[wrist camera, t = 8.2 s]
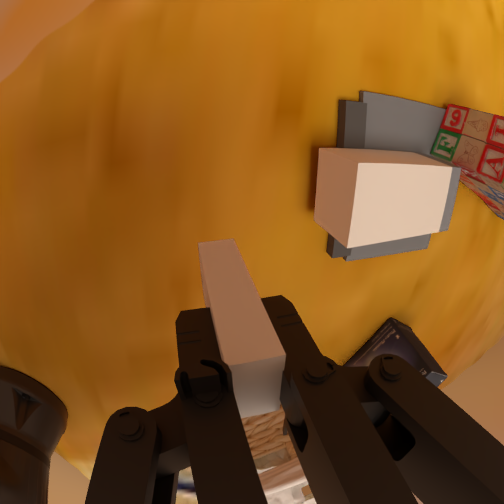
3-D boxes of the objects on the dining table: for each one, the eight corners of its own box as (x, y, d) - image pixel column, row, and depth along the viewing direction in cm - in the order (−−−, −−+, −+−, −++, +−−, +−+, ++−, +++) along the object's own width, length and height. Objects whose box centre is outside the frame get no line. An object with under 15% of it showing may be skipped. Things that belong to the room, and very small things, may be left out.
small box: (388, 314, 35) (433, 371, 27) (409, 326, 38) (450, 375, 29) (336, 369, 39) (368, 428, 30) (362, 374, 41) (393, 426, 32)
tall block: (346, 248, 20) (447, 230, 23) (358, 162, 17) (461, 167, 20) (313, 220, 24) (413, 209, 27) (319, 147, 21) (422, 153, 24)
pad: (325, 260, 28) (330, 267, 27) (339, 88, 21) (346, 88, 20) (424, 246, 31) (430, 251, 30) (447, 110, 23) (455, 111, 22)
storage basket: (193, 418, 37) (209, 511, 25) (294, 371, 36) (337, 469, 24) (266, 455, 50) (286, 516, 37) (339, 421, 49) (369, 482, 36)
